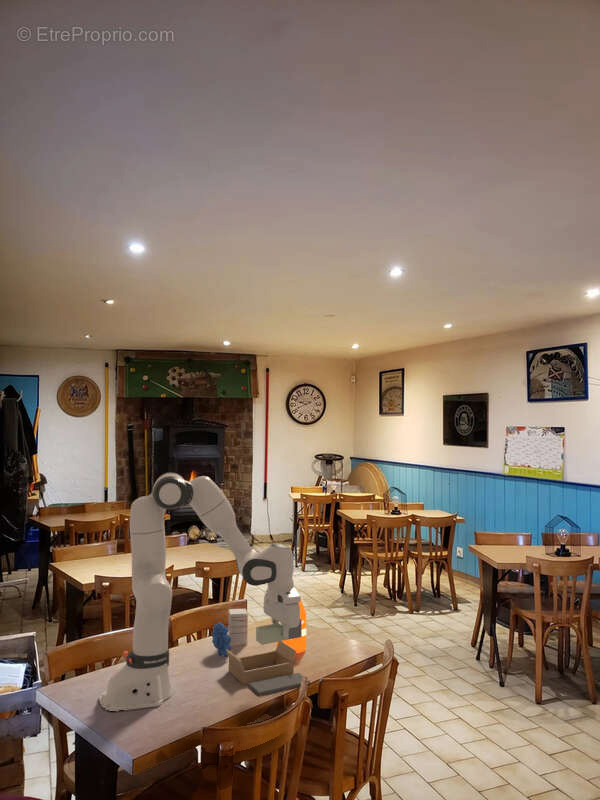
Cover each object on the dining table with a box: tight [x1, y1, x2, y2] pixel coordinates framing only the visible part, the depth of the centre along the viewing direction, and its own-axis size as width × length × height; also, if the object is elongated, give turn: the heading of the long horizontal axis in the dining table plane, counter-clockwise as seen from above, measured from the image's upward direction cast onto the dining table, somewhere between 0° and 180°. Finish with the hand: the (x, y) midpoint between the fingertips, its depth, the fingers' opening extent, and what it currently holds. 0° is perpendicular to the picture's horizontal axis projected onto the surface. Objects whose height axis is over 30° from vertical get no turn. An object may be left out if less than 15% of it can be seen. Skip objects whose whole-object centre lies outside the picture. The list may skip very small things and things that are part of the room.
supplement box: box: [227, 608, 249, 647], centre depth 246 cm, size 7×7×13 cm
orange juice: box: [276, 600, 307, 654], centre depth 238 cm, size 8×9×20 cm
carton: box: [226, 641, 296, 685], centre depth 215 cm, size 22×13×8 cm, turn 119°
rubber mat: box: [248, 672, 311, 696], centre depth 204 cm, size 19×8×1 cm, turn 120°
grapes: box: [211, 621, 233, 657], centre depth 231 cm, size 12×7×12 cm, turn 40°
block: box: [255, 619, 302, 646], centre depth 205 cm, size 15×4×6 cm, turn 120°
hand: (280, 633), depth 205 cm, fingers closed on block, 4 cm apart
